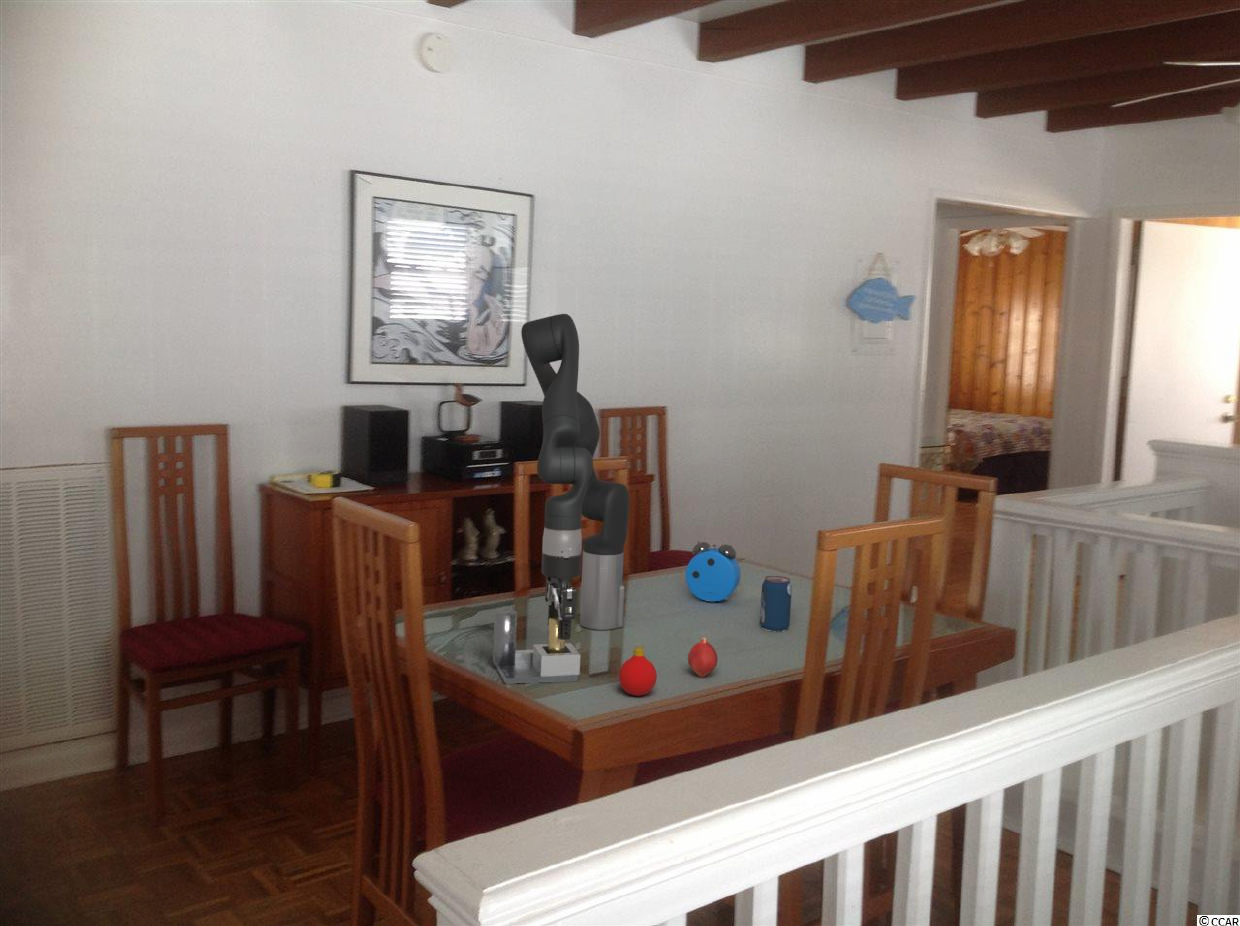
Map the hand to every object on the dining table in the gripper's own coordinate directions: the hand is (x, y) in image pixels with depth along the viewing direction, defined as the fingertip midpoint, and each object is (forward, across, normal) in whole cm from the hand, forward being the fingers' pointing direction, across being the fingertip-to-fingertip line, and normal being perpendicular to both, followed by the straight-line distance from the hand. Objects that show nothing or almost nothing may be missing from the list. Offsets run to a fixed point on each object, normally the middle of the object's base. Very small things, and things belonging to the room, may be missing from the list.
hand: (558, 632), depth 209 cm
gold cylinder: (+7, 0, 0) cm, 7 cm away
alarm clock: (+9, -53, +54) cm, 76 cm away
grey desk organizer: (+8, -2, -4) cm, 10 cm away
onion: (+9, +5, +28) cm, 30 cm away
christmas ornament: (+9, +13, +12) cm, 20 cm away
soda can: (+9, -26, +58) cm, 64 cm away
